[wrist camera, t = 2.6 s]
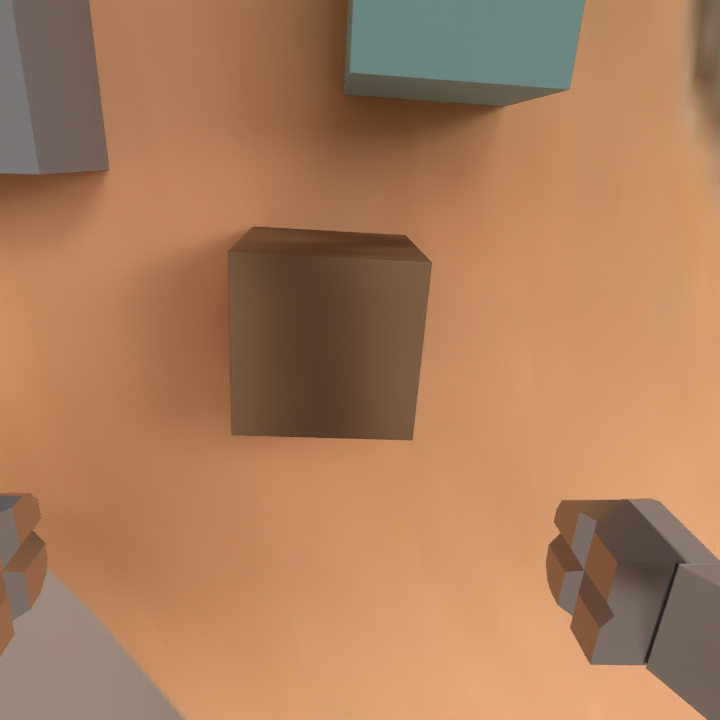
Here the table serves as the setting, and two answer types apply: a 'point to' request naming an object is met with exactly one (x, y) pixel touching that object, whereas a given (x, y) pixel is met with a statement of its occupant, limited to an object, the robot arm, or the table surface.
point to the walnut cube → (326, 333)
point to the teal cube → (461, 49)
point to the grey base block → (49, 89)
